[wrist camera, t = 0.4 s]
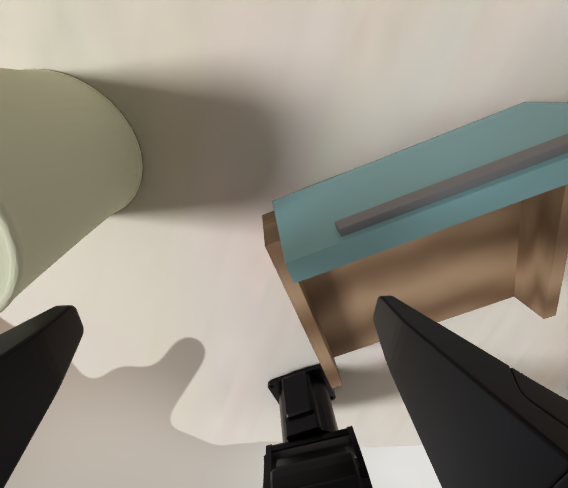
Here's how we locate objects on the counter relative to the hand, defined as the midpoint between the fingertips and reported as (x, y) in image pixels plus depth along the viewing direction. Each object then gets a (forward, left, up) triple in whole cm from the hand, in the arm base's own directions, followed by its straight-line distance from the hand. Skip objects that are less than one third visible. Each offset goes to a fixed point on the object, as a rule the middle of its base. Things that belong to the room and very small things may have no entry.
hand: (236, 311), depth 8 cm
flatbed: (-11, -10, -14) cm, 20 cm away
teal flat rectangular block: (-2, -10, -12) cm, 16 cm away
